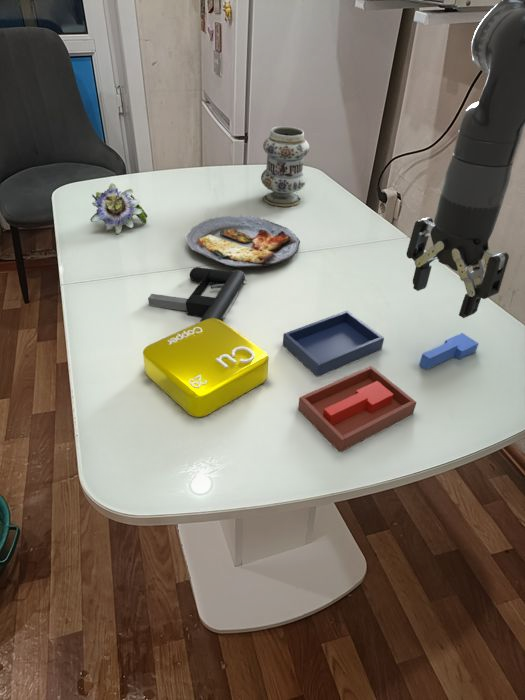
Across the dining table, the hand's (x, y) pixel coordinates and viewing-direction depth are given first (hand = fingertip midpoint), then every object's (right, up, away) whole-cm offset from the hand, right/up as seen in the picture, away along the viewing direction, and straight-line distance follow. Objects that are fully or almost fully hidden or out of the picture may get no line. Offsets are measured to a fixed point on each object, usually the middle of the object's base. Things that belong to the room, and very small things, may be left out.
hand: (441, 301), depth 75 cm
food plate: (-30, +16, +41) cm, 54 cm away
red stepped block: (-12, -16, +1) cm, 20 cm away
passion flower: (-60, +23, +48) cm, 80 cm away
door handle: (-39, +2, +23) cm, 45 cm away
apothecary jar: (-21, +34, +64) cm, 76 cm away
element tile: (-35, -11, +7) cm, 37 cm away
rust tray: (-12, -16, +1) cm, 20 cm away
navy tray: (-14, -7, +13) cm, 21 cm away
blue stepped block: (+5, -8, +13) cm, 16 cm away
